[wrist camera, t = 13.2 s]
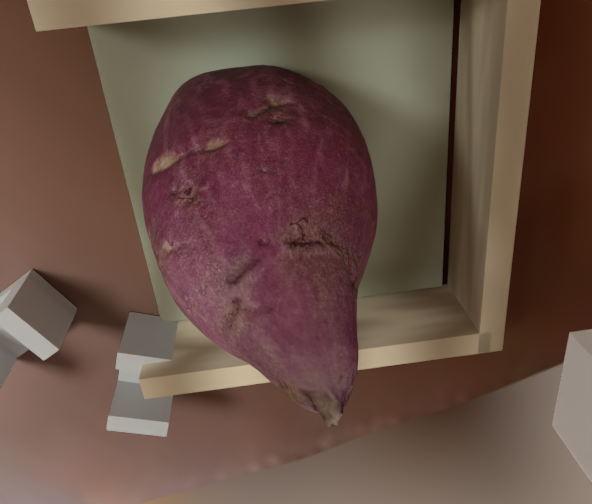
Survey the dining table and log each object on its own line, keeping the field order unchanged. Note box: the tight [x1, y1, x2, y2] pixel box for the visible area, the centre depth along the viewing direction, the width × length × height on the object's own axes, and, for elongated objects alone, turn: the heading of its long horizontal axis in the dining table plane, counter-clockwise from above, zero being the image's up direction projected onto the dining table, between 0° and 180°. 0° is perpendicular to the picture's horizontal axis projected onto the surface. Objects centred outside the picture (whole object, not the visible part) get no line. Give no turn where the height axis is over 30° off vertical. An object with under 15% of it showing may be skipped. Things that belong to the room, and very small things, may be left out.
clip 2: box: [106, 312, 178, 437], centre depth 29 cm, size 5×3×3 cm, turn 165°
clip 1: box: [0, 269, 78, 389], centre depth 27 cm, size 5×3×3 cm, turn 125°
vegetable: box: [142, 64, 378, 426], centre depth 21 cm, size 10×10×15 cm
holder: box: [27, 0, 541, 399], centre depth 24 cm, size 17×17×4 cm
